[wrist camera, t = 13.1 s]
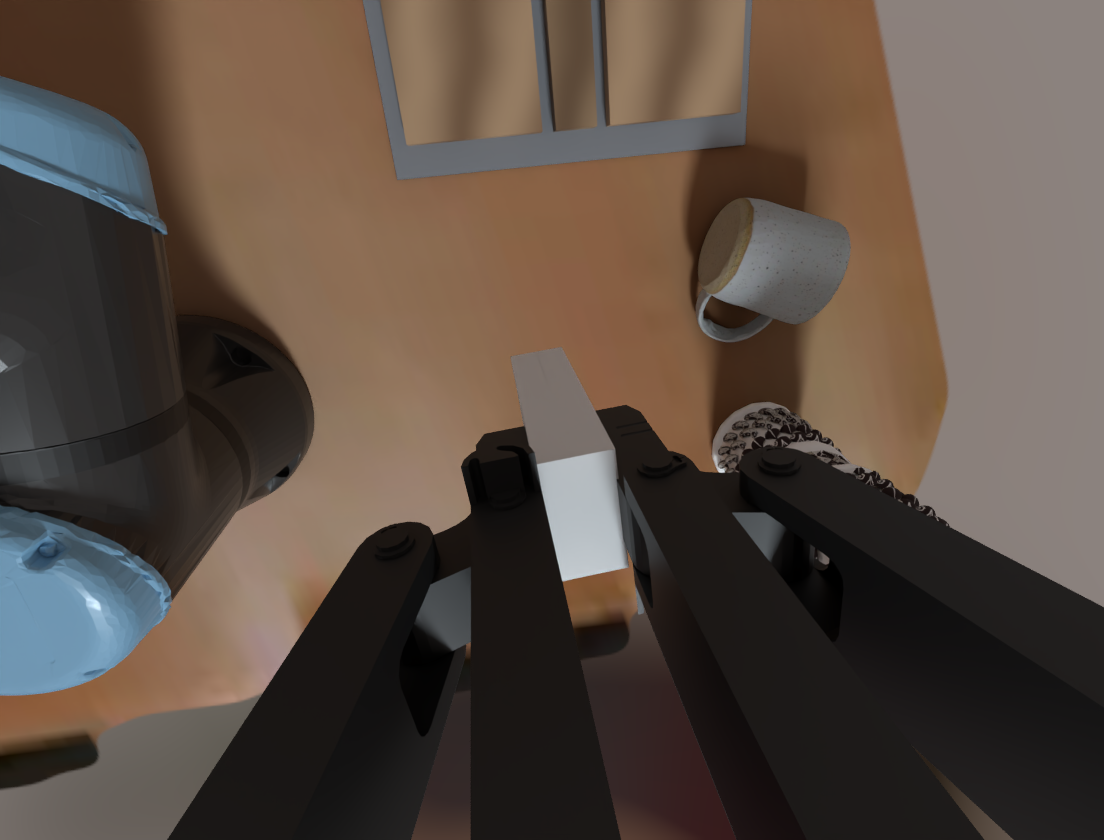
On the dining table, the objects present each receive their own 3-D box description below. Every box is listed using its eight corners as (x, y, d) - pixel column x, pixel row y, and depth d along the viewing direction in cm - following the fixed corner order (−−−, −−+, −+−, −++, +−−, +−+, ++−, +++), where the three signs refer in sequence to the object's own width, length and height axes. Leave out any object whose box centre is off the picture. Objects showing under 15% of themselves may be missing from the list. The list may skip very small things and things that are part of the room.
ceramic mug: (715, 189, 41) (763, 193, 34) (809, 218, 42) (873, 228, 36) (667, 324, 45) (701, 353, 38) (755, 346, 47) (803, 377, 40)
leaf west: (409, 145, 37) (406, 144, 36) (364, -105, 32) (359, -117, 30) (540, 133, 37) (542, 131, 36) (518, -115, 32) (519, -127, 31)
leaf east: (606, 126, 38) (610, 124, 36) (595, -120, 32) (599, -132, 31) (732, 114, 38) (740, 112, 37) (741, -131, 33) (751, -143, 32)
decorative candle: (687, 463, 50) (859, 697, 27) (748, 380, 48) (996, 563, 25) (760, 501, 53) (971, 742, 30) (822, 424, 50) (1105, 625, 28)
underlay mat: (397, 179, 38) (397, 179, 38) (335, -147, 31) (333, -149, 31) (743, 144, 40) (745, 144, 39) (758, -171, 33) (760, -174, 32)
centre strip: (553, 131, 38) (556, 130, 36) (533, -115, 32) (535, -128, 31) (593, 128, 38) (597, 126, 36) (579, -118, 32) (584, -131, 31)
